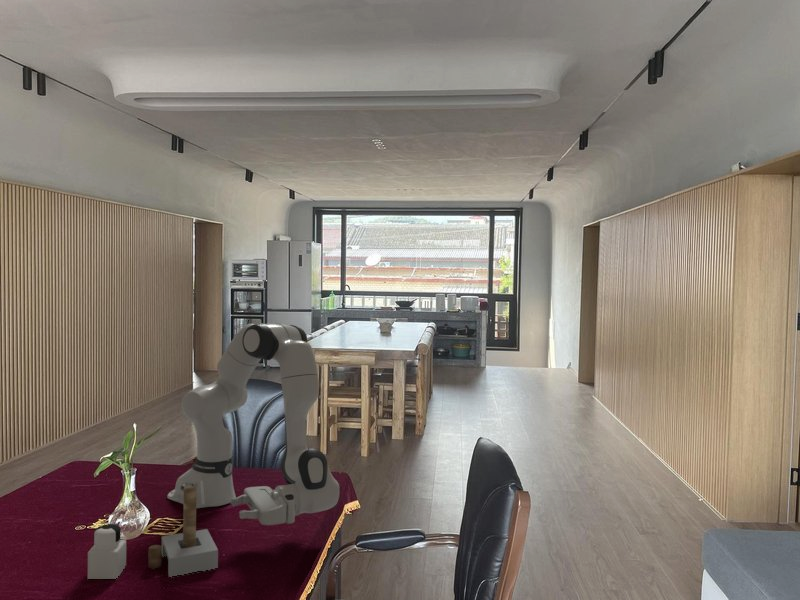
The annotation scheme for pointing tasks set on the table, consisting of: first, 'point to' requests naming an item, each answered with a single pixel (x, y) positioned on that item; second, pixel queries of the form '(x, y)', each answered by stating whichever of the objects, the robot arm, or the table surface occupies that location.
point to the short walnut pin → (155, 556)
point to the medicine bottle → (106, 553)
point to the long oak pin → (189, 517)
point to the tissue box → (190, 553)
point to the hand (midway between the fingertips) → (235, 508)
